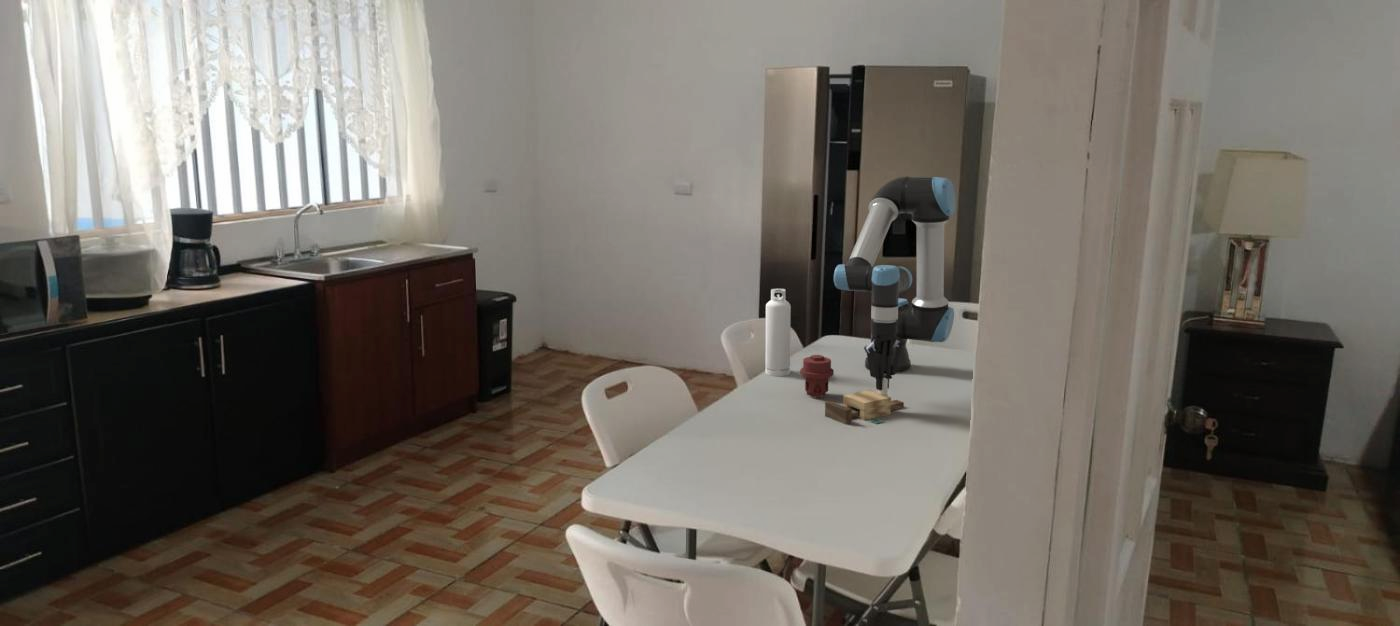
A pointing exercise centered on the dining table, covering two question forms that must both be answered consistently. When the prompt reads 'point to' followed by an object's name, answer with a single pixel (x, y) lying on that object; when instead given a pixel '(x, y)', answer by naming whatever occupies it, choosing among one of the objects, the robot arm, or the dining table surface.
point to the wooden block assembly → (852, 412)
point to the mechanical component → (816, 375)
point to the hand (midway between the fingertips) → (882, 400)
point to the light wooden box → (868, 404)
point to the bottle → (777, 335)
